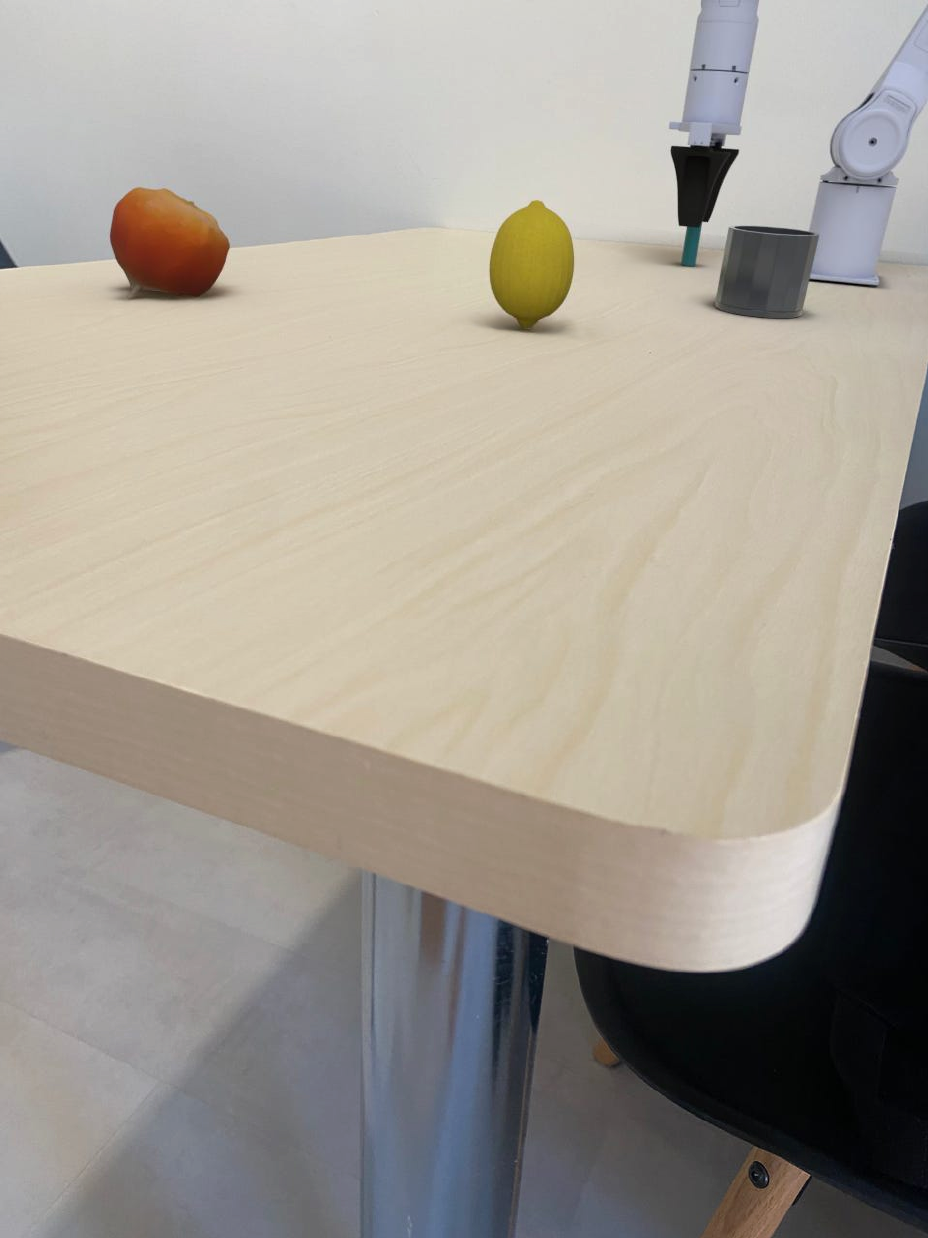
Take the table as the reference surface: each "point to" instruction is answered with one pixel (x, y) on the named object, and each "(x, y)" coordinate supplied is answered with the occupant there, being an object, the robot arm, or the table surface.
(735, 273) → the tumbler
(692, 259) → the teal rectangular block
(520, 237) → the lemon
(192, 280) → the fruit
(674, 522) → the table surface
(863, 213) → the robot arm
